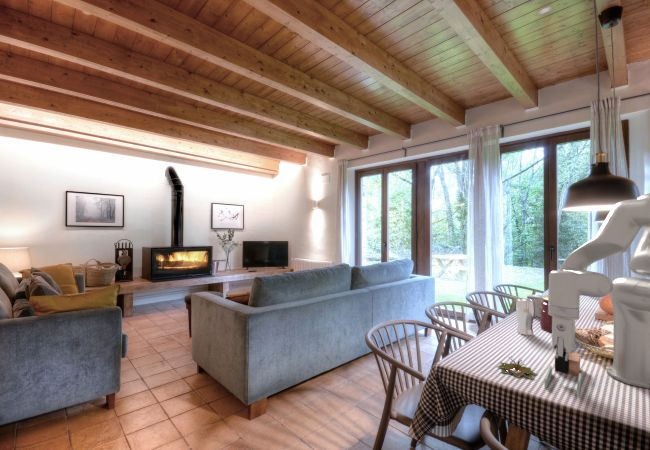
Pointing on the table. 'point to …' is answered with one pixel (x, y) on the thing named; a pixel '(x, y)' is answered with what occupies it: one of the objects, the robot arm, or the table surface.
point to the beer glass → (525, 315)
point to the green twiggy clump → (517, 367)
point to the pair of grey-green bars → (551, 374)
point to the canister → (545, 315)
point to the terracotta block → (574, 364)
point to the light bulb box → (536, 303)
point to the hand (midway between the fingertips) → (561, 371)
